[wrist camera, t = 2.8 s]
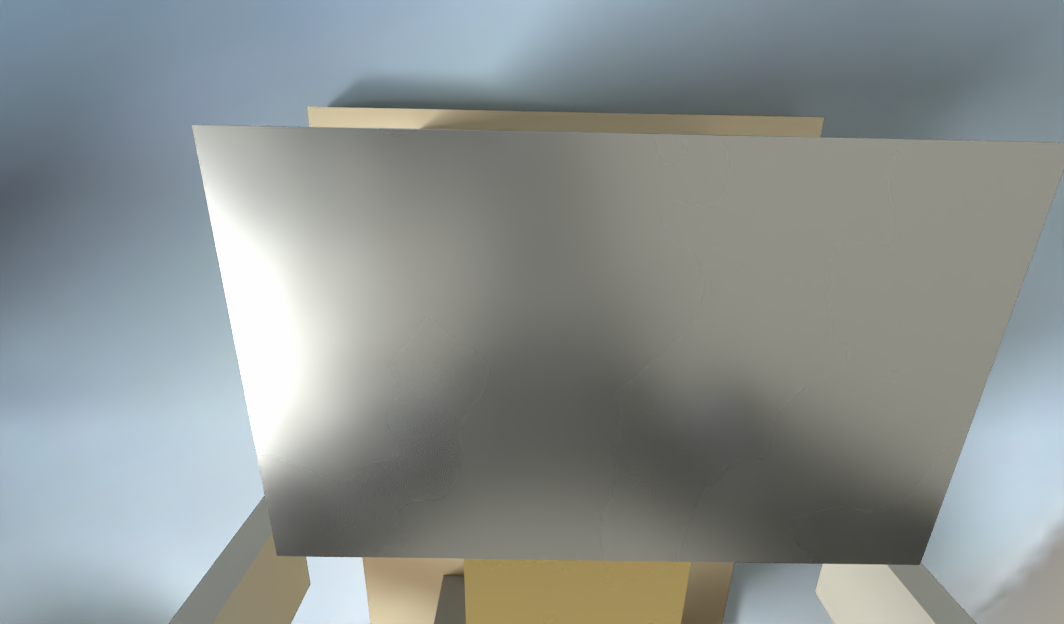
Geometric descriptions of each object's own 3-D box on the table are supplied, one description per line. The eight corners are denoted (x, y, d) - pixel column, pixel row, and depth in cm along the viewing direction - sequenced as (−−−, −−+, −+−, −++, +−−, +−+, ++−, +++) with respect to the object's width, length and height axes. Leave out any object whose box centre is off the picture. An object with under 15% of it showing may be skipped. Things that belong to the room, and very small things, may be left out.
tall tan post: (475, 155, 10) (440, 170, 6) (676, 159, 10) (764, 177, 7) (484, 640, 15) (467, 818, 11) (622, 641, 15) (655, 821, 11)
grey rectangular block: (419, 128, 14) (192, 124, 5) (711, 134, 14) (1073, 143, 5) (429, 301, 15) (276, 556, 6) (688, 306, 16) (919, 565, 6)
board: (324, 108, 15) (307, 106, 14) (802, 118, 15) (824, 117, 14) (382, 630, 22) (374, 657, 21) (705, 634, 22) (714, 661, 21)
